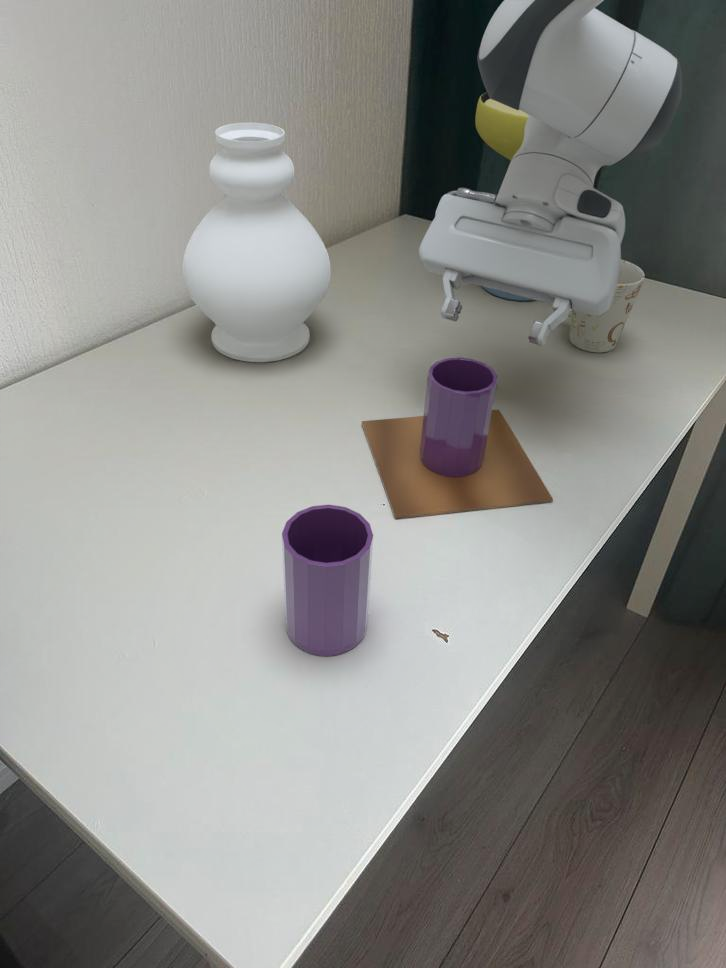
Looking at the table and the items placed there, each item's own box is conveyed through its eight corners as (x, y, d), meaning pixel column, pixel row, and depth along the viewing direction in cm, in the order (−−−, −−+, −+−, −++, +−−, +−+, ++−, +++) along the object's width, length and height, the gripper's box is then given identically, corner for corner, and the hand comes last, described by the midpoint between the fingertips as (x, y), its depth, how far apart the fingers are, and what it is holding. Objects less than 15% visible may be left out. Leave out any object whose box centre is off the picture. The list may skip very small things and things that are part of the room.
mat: (498, 412, 88) (499, 409, 88) (552, 502, 76) (553, 499, 76) (361, 423, 85) (361, 420, 85) (394, 519, 73) (395, 516, 73)
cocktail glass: (444, 300, 110) (465, 111, 94) (468, 253, 124) (490, 81, 108) (572, 322, 106) (616, 128, 91) (582, 271, 120) (623, 95, 104)
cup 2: (471, 436, 84) (484, 355, 77) (491, 474, 79) (506, 390, 72) (412, 442, 82) (420, 360, 76) (429, 480, 77) (439, 396, 71)
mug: (599, 364, 98) (619, 290, 91) (522, 326, 105) (535, 256, 98) (637, 344, 102) (658, 273, 96) (560, 310, 109) (575, 241, 103)
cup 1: (358, 589, 66) (362, 500, 60) (374, 650, 61) (381, 560, 55) (281, 599, 65) (277, 509, 59) (291, 661, 60) (288, 571, 54)
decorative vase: (224, 298, 108) (208, 104, 92) (346, 318, 105) (351, 120, 89) (166, 359, 95) (135, 144, 79) (303, 384, 91) (300, 165, 75)
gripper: (440, 168, 79) (390, 292, 79) (640, 209, 72) (587, 346, 71) (452, 199, 85) (406, 315, 84) (638, 240, 78) (589, 367, 77)
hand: (491, 330), depth 78 cm, fingers open, 8 cm apart
